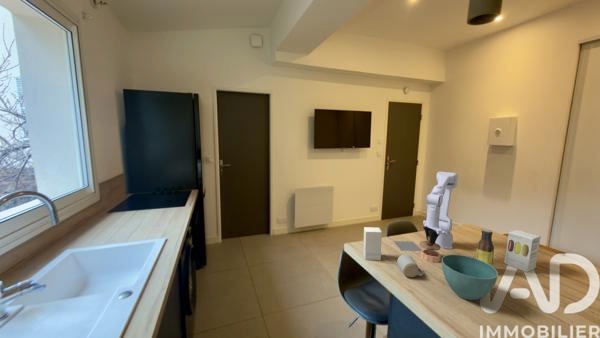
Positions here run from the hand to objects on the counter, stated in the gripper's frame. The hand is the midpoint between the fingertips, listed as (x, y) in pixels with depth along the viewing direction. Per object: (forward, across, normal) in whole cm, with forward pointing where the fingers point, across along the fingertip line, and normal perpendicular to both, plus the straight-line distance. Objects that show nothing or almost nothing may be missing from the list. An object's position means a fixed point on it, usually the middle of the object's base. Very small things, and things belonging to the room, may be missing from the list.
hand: (430, 241), depth 122 cm
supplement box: (+9, +5, +42) cm, 44 cm away
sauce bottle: (+9, +10, +20) cm, 25 cm away
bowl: (+9, 0, 0) cm, 9 cm away
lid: (+2, 0, 0) cm, 2 cm away
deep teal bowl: (+9, +28, 0) cm, 30 cm away
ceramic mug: (+9, +15, -16) cm, 24 cm away
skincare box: (+9, +1, -31) cm, 32 cm away
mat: (+9, -13, -6) cm, 17 cm away
